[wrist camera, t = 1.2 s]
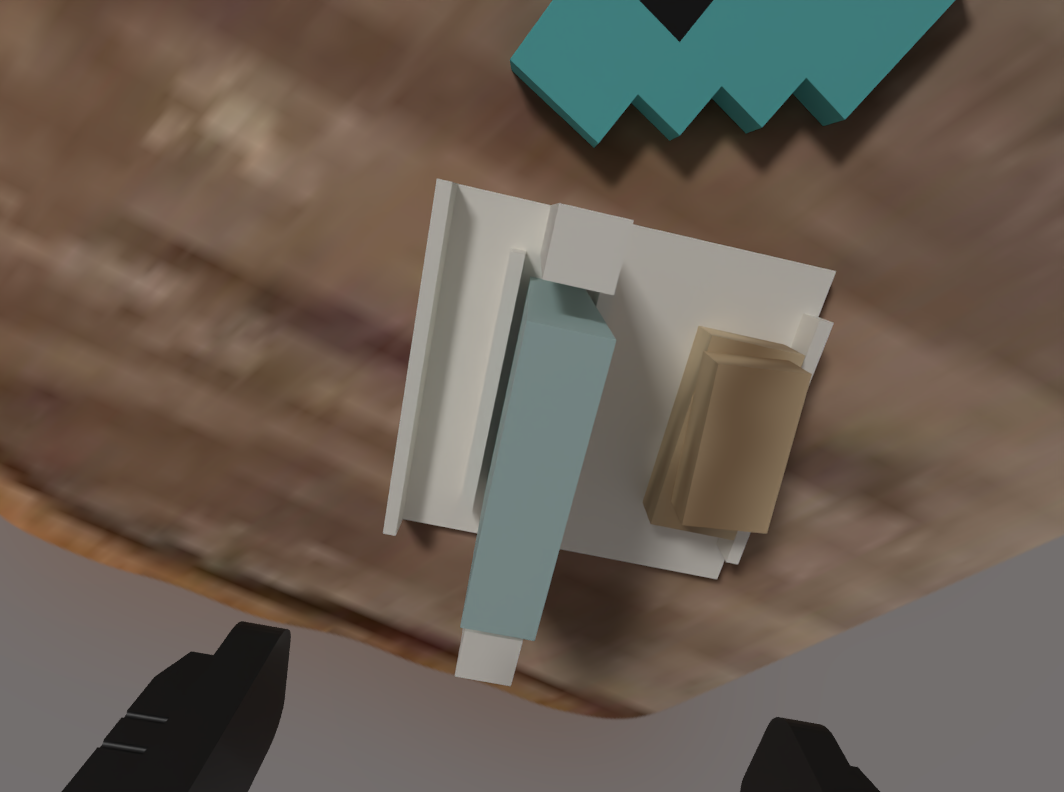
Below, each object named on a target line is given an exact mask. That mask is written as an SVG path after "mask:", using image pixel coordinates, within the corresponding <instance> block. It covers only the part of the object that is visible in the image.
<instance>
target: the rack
mask: <svg viewBox="0 0 1064 792" xmlns="http://www.w3.org/2000/svg"><path fill="white" fill-rule="evenodd" d="M633 221H634V220H630V219H626V218H621V217H617V216H613V215H608V214H604V213H600V212H595V211H591V210H587V209H582V208H578V207H574V206H570V205H565V204H561V203H558V204H554V205H547V204H543V203H538V202H534V201H530V200H525V199H521V198H517V197H512V196H508V195H504V194H499V193H495V192H491V191H486V190H482V189H478V188H474V187H469V186H465V185H461V184H457V183H453V182H450V181H445V180H441V179H437V181H436V188H435V195H434V201H433V208H432V214H431V221H430V227H429V234H428V241H427V247H426V254H425V260H424V267H423V273H422V280H421V287H420V293H419V300H418V306H417V313H416V319H415V326H414V333H413V339H412V346H411V352H410V359H409V365H408V372H407V379H406V385H405V392H404V398H403V405H402V411H401V418H400V425H399V431H398V438H397V444H396V451H395V457H394V464H393V471H392V477H391V484H390V490H389V497H388V503H387V510H386V517H385V523H384V530H383V533H384V534H389V535H394V536H396V534H397V531H398V529H399V527H400V524H401V522H402V520H403V519H405V520H411V521H416V522H421V523H426V524H431V525H437V526H442V527H447V528H452V529H457V530H463V531H468V532H473V533H477V532H478V527H479V521H480V516H481V510H482V505H483V499H484V494H485V488H486V483H487V478H488V473H489V468H490V464H491V459H492V454H493V450H494V445H495V440H496V436H497V431H498V426H499V421H500V417H501V412H502V407H503V403H504V398H505V393H506V389H507V384H508V379H509V375H510V370H511V365H512V361H513V356H514V351H515V347H516V342H517V337H518V333H519V328H520V323H521V319H522V314H523V309H524V305H525V300H526V295H527V290H528V286H529V281H530V276H531V277H536V278H540V279H542V280H547V281H551V282H556V283H560V284H565V285H569V286H574V287H578V288H583V289H585V290H586V291H587V293H588V295H589V296H590V298H591V299H592V301H593V303H594V304H595V306H596V308H597V309H598V311H599V313H600V314H601V316H602V317H603V319H604V321H605V322H606V324H607V326H608V327H609V329H610V330H611V332H612V334H613V335H614V337H615V339H616V344H615V347H614V351H613V355H612V358H611V362H610V366H609V369H608V373H607V377H606V380H605V384H604V388H603V392H602V395H601V399H600V403H599V406H598V410H597V414H596V417H595V421H594V425H593V428H592V432H591V436H590V439H589V443H588V447H587V450H586V454H585V458H584V461H583V465H582V469H581V472H580V476H579V480H578V483H577V487H576V491H575V494H574V498H573V502H572V505H571V509H570V513H569V516H568V520H567V524H566V527H565V531H564V535H563V538H562V542H561V546H560V549H562V550H567V551H572V552H577V553H582V554H588V555H593V556H598V557H603V558H608V559H614V560H619V561H624V562H629V563H634V564H640V565H645V566H650V567H655V568H660V569H666V570H671V571H676V572H681V573H686V574H692V575H697V576H702V577H707V578H712V579H718V576H719V573H720V571H721V568H722V566H723V563H724V560H725V561H726V562H728V563H733V564H738V563H739V561H740V558H741V556H742V553H743V551H744V548H745V546H746V543H747V541H748V538H749V536H750V533H751V532H744V531H737V534H736V536H735V539H734V540H729V539H724V538H719V537H714V536H708V535H703V534H698V533H693V532H688V531H683V530H678V529H673V528H668V527H663V526H658V525H653V524H650V521H649V519H648V516H647V513H646V510H645V508H644V505H643V499H644V496H645V493H646V490H647V487H648V483H649V480H650V477H651V474H652V471H653V468H654V465H655V461H656V458H657V455H658V452H659V449H660V446H661V442H662V439H663V436H664V433H665V430H666V427H667V424H668V420H669V417H670V414H671V411H672V408H673V405H674V402H675V398H676V395H677V392H678V389H679V386H680V383H681V380H682V376H683V373H684V370H685V367H686V364H687V361H688V358H689V354H690V351H691V348H692V345H693V342H694V339H695V336H696V332H697V329H698V326H703V327H707V328H712V329H716V330H721V331H725V332H730V333H734V334H739V335H744V336H748V337H753V338H757V339H762V340H766V341H771V342H775V343H780V344H784V345H786V346H788V347H790V348H792V349H794V350H796V351H797V352H799V353H801V354H803V355H805V358H804V361H803V363H802V366H801V368H802V369H804V370H806V371H808V372H809V373H811V374H812V376H811V379H812V377H813V374H814V372H815V369H816V367H817V364H818V362H819V359H820V356H821V354H822V351H823V349H824V346H825V344H826V341H827V339H828V336H829V334H830V331H831V329H832V326H833V324H834V323H833V322H830V321H828V320H825V319H822V318H820V317H819V314H820V312H821V309H822V307H823V304H824V301H825V299H826V296H827V294H828V291H829V288H830V286H831V283H832V281H833V278H834V275H835V273H836V271H833V270H828V269H824V268H820V267H815V266H811V265H807V264H802V263H798V262H794V261H789V260H785V259H781V258H777V257H772V256H768V255H764V254H759V253H755V252H751V251H746V250H742V249H738V248H733V247H729V246H725V245H720V244H716V243H712V242H707V241H703V240H699V239H694V238H690V237H686V236H681V235H677V234H673V233H668V232H664V231H660V230H655V229H651V228H647V227H642V226H638V225H634V224H633ZM810 382H811V380H810ZM809 384H810V383H809ZM522 642H523V639H521V638H515V637H510V636H504V635H499V634H493V633H488V632H482V631H477V630H471V629H466V628H463V632H462V638H461V643H460V649H459V655H458V661H457V666H456V672H455V676H456V677H461V678H467V679H473V680H479V681H484V682H490V683H496V684H501V685H507V686H511V683H512V680H513V676H514V672H515V668H516V664H517V661H518V657H519V653H520V649H521V646H522Z"/></svg>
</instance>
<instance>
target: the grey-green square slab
mask: <svg viewBox="0 0 1064 792" xmlns="http://www.w3.org/2000/svg"><path fill="white" fill-rule="evenodd" d="M615 344H616V339H615V337H614V335H613V334H612V332H611V330H610V329H609V327H608V326H607V324H606V322H605V321H604V319H603V317H602V316H601V314H600V313H599V311H598V309H597V308H596V306H595V304H594V303H593V301H592V299H591V298H590V296H589V295H588V293H587V291H586V290H585V289H583V288H578V287H574V286H569V285H565V284H560V283H556V282H551V281H547V280H542V279H540V278H536V277H531V276H530V281H529V286H528V290H527V295H526V300H525V305H524V309H523V314H522V319H521V323H520V328H519V333H518V337H517V342H516V347H515V351H514V356H513V361H512V365H511V370H510V375H509V379H508V384H507V389H506V393H505V398H504V403H503V407H502V412H501V417H500V421H499V426H498V431H497V436H496V440H495V445H494V450H493V454H492V459H491V464H490V468H489V473H488V478H487V483H486V488H485V494H484V499H483V505H482V510H481V516H480V521H479V527H478V532H477V538H476V543H475V549H474V554H473V560H472V565H471V571H470V576H469V582H468V587H467V593H466V599H465V604H464V610H463V615H462V621H461V626H460V628H466V629H471V630H477V631H482V632H488V633H493V634H499V635H504V636H510V637H515V638H521V639H526V640H532V641H535V637H536V634H537V630H538V626H539V623H540V619H541V615H542V612H543V608H544V604H545V601H546V597H547V593H548V590H549V586H550V582H551V579H552V575H553V571H554V568H555V564H556V560H557V557H558V553H559V549H560V546H561V542H562V538H563V535H564V531H565V527H566V524H567V520H568V516H569V513H570V509H571V505H572V502H573V498H574V494H575V491H576V487H577V483H578V480H579V476H580V472H581V469H582V465H583V461H584V458H585V454H586V450H587V447H588V443H589V439H590V436H591V432H592V428H593V425H594V421H595V417H596V414H597V410H598V406H599V403H600V399H601V395H602V392H603V388H604V384H605V380H606V377H607V373H608V369H609V366H610V362H611V358H612V355H613V351H614V347H615Z"/></svg>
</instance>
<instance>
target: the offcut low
mask: <svg viewBox="0 0 1064 792" xmlns="http://www.w3.org/2000/svg"><path fill="white" fill-rule="evenodd" d="M703 351H707V352H716V353H725V354H734V355H743V356H752V357H762V358H771V359H780V360H789V361H791V362H792V363H794V364H796V365H797V366H799V367H801V366H802V363H803V361H804V358H805V355H803V354H801V353H799V352H797V351H796V350H794V349H792V348H790V347H788V346H786V345H784V344H780V343H775V342H771V341H766V340H762V339H757V338H753V337H748V336H744V335H739V334H734V333H730V332H725V331H721V330H716V329H712V328H707V327H703V326H698V329H697V332H696V336H695V339H694V342H693V345H692V348H691V351H690V354H689V358H688V361H687V364H686V367H685V370H684V373H683V376H682V380H681V383H680V386H679V389H678V392H677V395H676V398H675V402H674V405H673V408H672V411H671V414H670V417H669V420H668V424H667V427H666V430H665V433H664V436H663V439H662V442H661V446H660V449H659V452H658V455H657V458H656V461H655V465H654V468H653V471H652V474H651V477H650V480H649V483H648V487H647V490H646V493H645V496H644V499H643V505H644V508H645V510H646V513H647V516H648V519H649V521H650V524H653V525H658V526H663V527H668V528H673V529H678V530H683V531H688V532H693V533H698V534H703V535H708V536H714V537H719V538H724V539H729V540H734V539H735V536H736V534H737V531H734V530H724V529H715V528H705V527H695V526H685V525H682V524H681V522H680V520H679V518H678V515H677V513H676V511H675V509H674V507H673V505H672V502H671V499H672V494H673V490H674V485H675V480H676V476H677V471H678V466H679V462H680V457H681V452H682V448H683V443H684V438H685V434H686V429H687V424H688V420H689V415H690V411H691V406H692V401H693V397H694V392H695V387H696V383H697V378H698V373H699V369H700V364H701V359H702V355H703Z"/></svg>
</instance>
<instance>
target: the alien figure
mask: <svg viewBox="0 0 1064 792" xmlns="http://www.w3.org/2000/svg"><path fill="white" fill-rule="evenodd" d="M954 1H955V0H553V1H552V2H551V3H550V5H549V6H548V8H547V9H546V10H545V12H544V13H543V14H542V16H541V17H540V19H539V20H538V21H537V23H536V24H535V26H534V27H533V28H532V30H531V31H530V32H529V34H528V35H527V37H526V38H525V39H524V41H523V42H522V43H521V45H520V46H519V48H518V49H517V50H516V52H515V53H514V55H513V56H512V57H511V59H510V63H511V69H512V71H513V72H514V73H515V74H516V75H517V76H518V77H519V78H520V79H521V80H522V81H523V82H525V83H526V84H527V85H528V86H529V87H530V88H531V89H532V90H533V91H534V92H535V93H536V94H537V95H538V96H539V97H540V98H542V99H543V100H544V101H545V102H546V103H547V104H548V105H549V106H550V107H551V108H552V109H553V110H554V111H555V112H556V113H557V114H559V115H560V116H561V117H562V118H563V119H564V120H565V121H566V122H567V123H568V124H569V125H570V126H571V127H572V128H573V129H574V130H576V131H577V132H578V133H579V134H580V135H581V136H582V137H583V138H584V139H585V140H586V141H587V142H588V143H589V144H590V145H591V146H592V147H594V148H595V146H596V145H597V144H598V143H599V142H600V141H601V140H602V138H603V137H604V136H605V135H606V133H607V132H608V131H609V130H610V128H611V127H612V126H613V125H614V123H615V122H616V121H617V120H618V118H619V117H620V116H621V115H622V113H623V112H624V111H625V110H626V108H627V107H628V106H629V105H630V103H632V104H633V105H634V106H635V107H636V108H637V109H638V110H639V111H640V112H641V113H642V114H643V115H644V116H645V117H646V118H647V119H648V120H649V121H650V122H651V123H652V124H653V125H654V126H655V127H656V128H657V129H658V130H659V131H660V132H661V133H662V134H663V135H664V136H665V137H666V138H667V139H668V140H669V141H670V140H672V139H674V138H676V137H678V136H680V135H681V134H682V132H683V131H684V130H685V129H686V128H687V126H688V125H689V124H690V123H691V122H692V121H693V119H694V118H695V117H696V116H697V115H698V113H699V112H700V111H701V110H702V109H703V108H704V106H705V105H706V104H707V103H708V102H709V100H710V99H711V98H712V99H713V100H714V101H715V102H716V103H717V104H718V105H719V106H720V107H721V108H722V109H723V110H724V111H725V113H726V114H727V115H728V116H729V117H730V118H731V119H732V120H733V121H734V122H735V123H736V124H737V125H738V126H739V127H740V128H741V129H742V130H743V131H744V132H745V133H749V132H751V131H754V130H757V129H760V128H762V127H763V126H764V125H765V124H766V123H767V121H768V120H769V119H770V118H771V117H772V116H773V115H774V114H775V112H776V111H777V110H778V109H779V108H780V107H781V106H782V105H783V103H784V102H785V101H786V100H787V99H788V98H789V97H790V95H791V94H792V93H793V95H794V96H795V97H796V98H797V99H798V100H799V101H800V102H801V103H802V104H803V105H804V106H805V107H806V108H807V110H808V111H809V112H810V113H811V114H812V115H813V116H814V117H815V118H816V119H817V120H818V121H819V122H820V123H821V125H822V126H825V125H828V124H832V123H835V122H839V121H842V120H845V119H846V118H847V117H848V116H849V115H850V114H851V113H852V112H853V111H854V109H855V108H856V107H857V106H858V105H859V104H860V103H861V102H862V101H863V100H864V99H865V98H866V96H867V95H868V94H869V93H870V92H871V91H872V90H873V89H874V88H875V87H876V86H877V85H878V83H879V82H880V81H881V80H882V79H883V78H884V77H885V76H886V75H887V74H888V73H889V72H890V70H891V69H892V68H893V67H894V66H895V65H896V64H897V63H898V62H899V61H900V60H901V59H902V57H903V56H904V55H905V54H906V53H907V52H908V51H909V50H910V49H911V48H912V47H913V46H914V44H915V43H916V42H917V41H918V40H919V39H920V38H921V37H922V36H923V35H924V34H925V33H926V31H927V30H928V29H929V28H930V27H931V26H932V25H933V24H934V23H935V22H936V21H937V20H938V18H939V17H940V16H941V15H942V14H943V13H944V12H945V11H946V10H947V9H948V8H949V7H950V5H951V4H952V3H953V2H954Z"/></svg>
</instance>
